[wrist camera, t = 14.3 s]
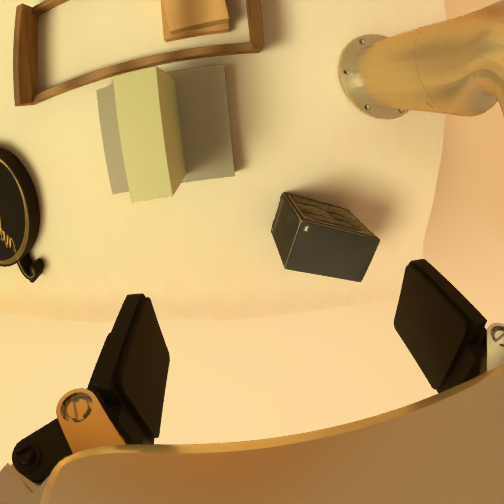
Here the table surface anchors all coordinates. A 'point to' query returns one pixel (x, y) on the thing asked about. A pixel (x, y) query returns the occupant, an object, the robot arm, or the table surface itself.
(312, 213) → the small box
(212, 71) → the grey board
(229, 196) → the table surface
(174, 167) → the pale green block
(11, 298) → the table surface
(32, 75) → the frame
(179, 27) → the upper offcut
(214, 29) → the block
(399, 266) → the table surface
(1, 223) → the decorative sign
